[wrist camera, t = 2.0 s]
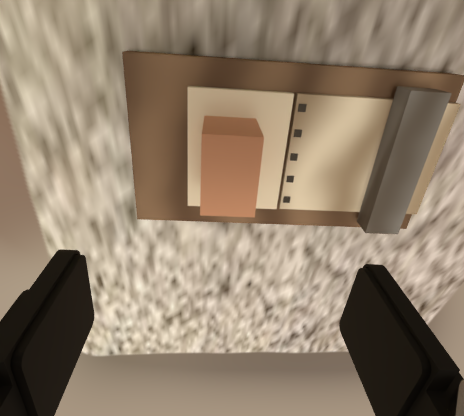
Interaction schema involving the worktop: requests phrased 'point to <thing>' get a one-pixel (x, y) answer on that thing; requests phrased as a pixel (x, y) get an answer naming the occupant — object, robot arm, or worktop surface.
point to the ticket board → (299, 137)
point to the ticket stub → (236, 149)
